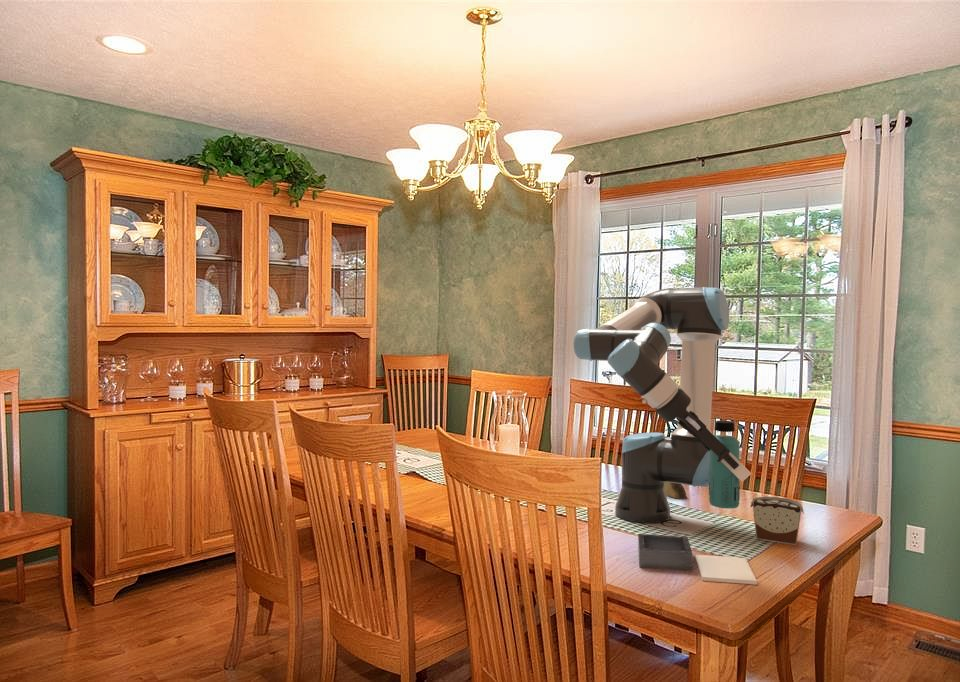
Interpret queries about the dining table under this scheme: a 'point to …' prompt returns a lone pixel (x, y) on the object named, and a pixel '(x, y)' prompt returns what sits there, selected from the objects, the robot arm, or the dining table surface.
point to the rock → (674, 490)
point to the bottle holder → (664, 552)
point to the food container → (777, 519)
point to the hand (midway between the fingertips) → (741, 473)
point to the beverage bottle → (724, 471)
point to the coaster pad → (725, 569)
